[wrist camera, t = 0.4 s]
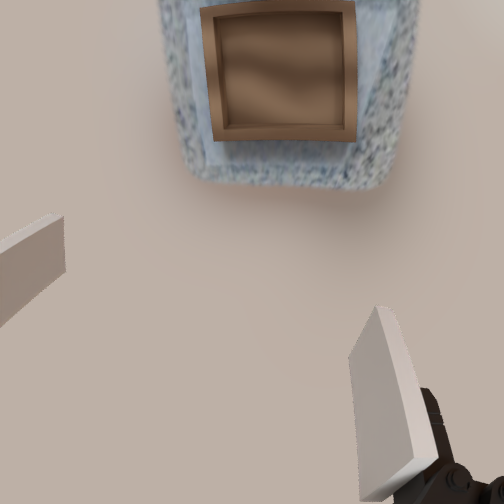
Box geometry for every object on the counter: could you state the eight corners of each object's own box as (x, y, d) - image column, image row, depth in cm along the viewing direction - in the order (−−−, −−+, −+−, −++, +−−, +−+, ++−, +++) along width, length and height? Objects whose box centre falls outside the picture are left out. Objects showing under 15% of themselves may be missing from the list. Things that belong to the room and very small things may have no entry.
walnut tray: (208, 10, 26) (199, 8, 24) (350, 5, 23) (354, 1, 21) (221, 133, 34) (213, 141, 32) (352, 134, 32) (355, 142, 29)
